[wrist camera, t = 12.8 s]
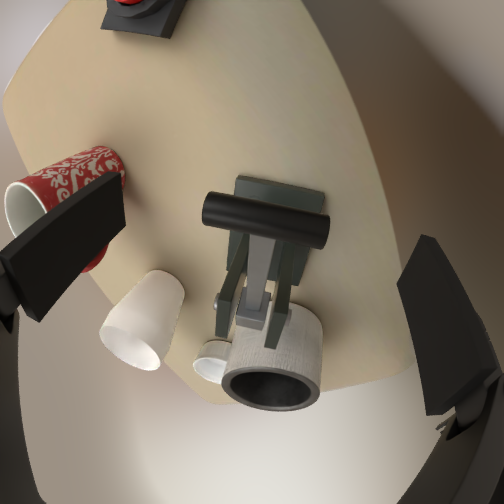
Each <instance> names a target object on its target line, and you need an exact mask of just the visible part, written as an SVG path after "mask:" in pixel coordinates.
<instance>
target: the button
mask: <svg viewBox="0 0 504 504" xmlns="http://www.w3.org/2000/svg"><path fill="white" fill-rule="evenodd" d="M115 1H118V2H122V3H126V4H135V3H138V2H140V1H142V0H115Z"/></svg>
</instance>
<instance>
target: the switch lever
mask: <svg viewBox="0 0 504 504" xmlns="http://www.w3.org/2000/svg"><path fill="white" fill-rule="evenodd" d="M202 222H203V224H204V225H206V226H211V227H216V228H221V229H226V230H231V231H236V232H241V233H245V234H250V240H249V255H248V271H247V286H246V287H243V288H242V292H241V296H240V300H239V304H238V308H237V312H236V325H238V326H242V327H246V328H251V329H255V330H260V331H262V329H263V327H264V324H265V320H266V315H267V311H268V306H269V301H270V296H271V293H269V292H264V290H265V286H266V282H267V277H268V273H269V268H270V264H271V259H272V255H273V250H274V245H275V241H276V240H278V241H283V242H288V243H292V244H297V245H302V246H306V247H311V248H315V249H320V250H321V249H323V248H324V246H325V244H326V242H327V238H328V234H329V229H330V216H328V215H325V214H321V213H317V212H312V211H308V210H304V209H299V208H294V207H290V206H285V205H280V204H276V203H271V202H266V201H261V200H256V199H251V198H246V197H240V196H235V195H230V194H224V193H219V192H213V191H211V192H209V193H208V194H207V196H206V198H205V201H204V204H203V209H202Z"/></svg>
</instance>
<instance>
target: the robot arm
mask: <svg viewBox="0 0 504 504" xmlns="http://www.w3.org/2000/svg"><path fill="white" fill-rule="evenodd" d="M125 226H126V222H125V213H124V203H123V192H122V178H121V173H120V172H111V171H107V172H106V173H104V174H103V175H101V176H99V177H98V178H96V179H95V180H93V181H91V182H90V183H88V184H87V185H85V186H84V187H82V188H81V189H79V190H78V191H76V192H75V193H73V194H72V195H71V196H69V197H68V198H66V199H65V200H63V201H62V202H61V203H59V204H58V205H56V206H55V207H54V208H52V209H51V210H50V211H48V212H47V213H46V214H44V215H43V216H42V217H41V218H39V219H38V220H37V221H35V222H34V223H33V224H32V225H30V226H29V227H28V228H27V229H26V230H24V231H23V232H22V233H21V234H20V235H18V236H17V237H16V238H15V239H14V240H13V241H11V242H10V243H9V244H8V245H7V246H6V247H5V248H4V249H3V250H1V251H0V504H46V503H45V502H44V501H43V500H42V498H41V497H40V495H39V493H38V491H37V487H36V484H35V481H34V477H33V473H32V469H31V465H30V461H29V457H28V452H27V447H26V442H25V436H24V431H23V424H22V417H21V408H20V397H19V381H18V334H19V312H18V310H17V308H18V306H19V305H20V304H21V306H22V307H23V309H24V311H25V313H26V315H27V316H29V317H30V318H32V319H34V320H35V321H37V322H41V320H42V319H43V317H44V316H45V315H46V314H47V313H48V311H49V310H50V309H51V307H52V306H53V305H54V304H55V303H56V301H57V300H58V299H59V298H60V296H61V295H62V294H63V293H64V292H65V290H66V289H67V288H68V287H69V286H70V285H71V283H72V282H73V281H74V280H75V279H76V278H77V277H78V275H79V274H80V273H81V272H82V271H83V270H84V269H85V268H86V267H87V265H88V264H89V263H90V262H91V261H92V260H93V259H94V258H95V257H96V256H97V255H98V254H99V253H100V252H101V250H102V249H103V248H104V247H105V246H106V245H107V244H108V243H109V242H110V241H111V240H112V239H113V238H114V237H115V236H116V235H117V234H118V233H119V232H120V231H121V230H122V229H123V228H124V227H125ZM397 287H398V290H399V293H400V297H401V300H402V303H403V307H404V310H405V314H406V317H407V321H408V325H409V329H410V333H411V336H412V340H413V345H414V349H415V354H416V358H417V363H418V367H419V373H420V378H421V383H422V389H423V395H424V402H425V409H426V415H427V416H430V415H443V414H444V413H446V412H447V411H448V410H450V409H451V408H452V407H453V406H455V411H456V413H455V414H454V415H452V416H451V417H449V418H448V419H447V420H445V421H444V422H442V423H441V424H439V425H438V426H437V428H436V430H439V429H440V428H442V427H443V426H445V425H446V427H445V429H444V430H443V431H441V432H440V433H441V437H440V438H439V440H438V442H437V444H436V445H435V447H434V449H433V451H432V453H431V454H430V456H429V458H428V459H427V461H426V463H425V464H424V466H423V467H422V469H421V470H420V472H419V473H418V475H417V477H416V478H415V479H414V481H413V482H412V484H411V485H410V487H409V488H408V489H407V491H406V492H405V493H404V495H403V496H402V497H401V499H400V500H399V501H398V503H397V504H504V373H502V370H501V367H500V364H499V362H498V359H497V356H496V353H495V351H494V348H493V346H492V343H491V341H489V340H490V338H489V336H488V333H487V332H486V328H485V326H484V324H483V322H482V320H481V318H480V317H479V315H478V314H477V313H476V311H475V310H474V308H473V306H472V304H471V302H470V300H469V298H468V295H467V294H466V292H465V290H464V288H463V286H462V284H461V282H460V280H459V278H458V276H457V275H456V273H455V271H454V269H453V267H452V266H451V264H450V262H449V260H448V259H447V257H446V255H445V254H444V252H443V250H442V249H441V247H440V245H439V244H438V242H437V241H436V239H435V238H433V237H429V236H426V235H422V234H421V236H420V238H419V240H418V243H417V245H416V247H415V249H414V251H413V253H412V255H411V257H410V259H409V261H408V263H407V265H406V267H405V269H404V271H403V272H402V274H401V276H400V278H399V280H398V282H397Z"/></svg>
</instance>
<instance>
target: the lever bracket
mask: <svg viewBox="0 0 504 504" xmlns="http://www.w3.org/2000/svg"><path fill="white" fill-rule="evenodd" d="M234 195H235V196H240V197H246V198H251V199H256V200H261V201H266V202H271V203H276V204H280V205H285V206H290V207H294V208H299V209H304V210H308V211H312V212H317V213H320V212H321V209H322V205H323V202H324V198H325V197H324V193H323V192H319V191H315V190H310V189H306V188H301V187H297V186H292V185H287V184H283V183H278V182H273V181H268V180H263V179H257V178H252V177H247V176H241V175H238V177H237V178H236V182H235V191H234ZM249 240H250V234H245V233H241V232H236V231H231V230H230V237H229V247H228V257H227V268H226V270H227V271H228V273H227V276H226V279H225V281H224V284H223V286H222V289H221V291H220V293H217V295H216V298H215V302H214V310H217V314H216V331H215V336H218V337H222V338H226V339H227V337H228V334H229V331H230V327H231V324H232V321H233V318H234V315H235V311H236V308H237V305H238V302H239V298H240V295H241V292H242V288H243V285H244V282H245V279H246V276H247V271H248V255H249ZM309 250H310V247H306V246H302V245H297V244H292V243H288V242H283V241H278V240H276V241H275V245H274V250H273V255H272V259H271V264H270V268H269V273H268V277H267V280H271V281H276V284H275V289H274V295H273V300H272V306H271V311H270V317H269V322H268V327H267V333H266V338H265V343H264V347H265V348H269V349H274V350H276V348H277V345H278V342H279V339H280V336H281V333H282V331H283V328H284V326H289V323H290V320H291V315H292V309H289V301H290V293H291V285H295V286H298V285H299V282H300V279H301V276H302V273H303V270H304V266H305V263H306V260H307V257H308V253H309Z"/></svg>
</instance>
